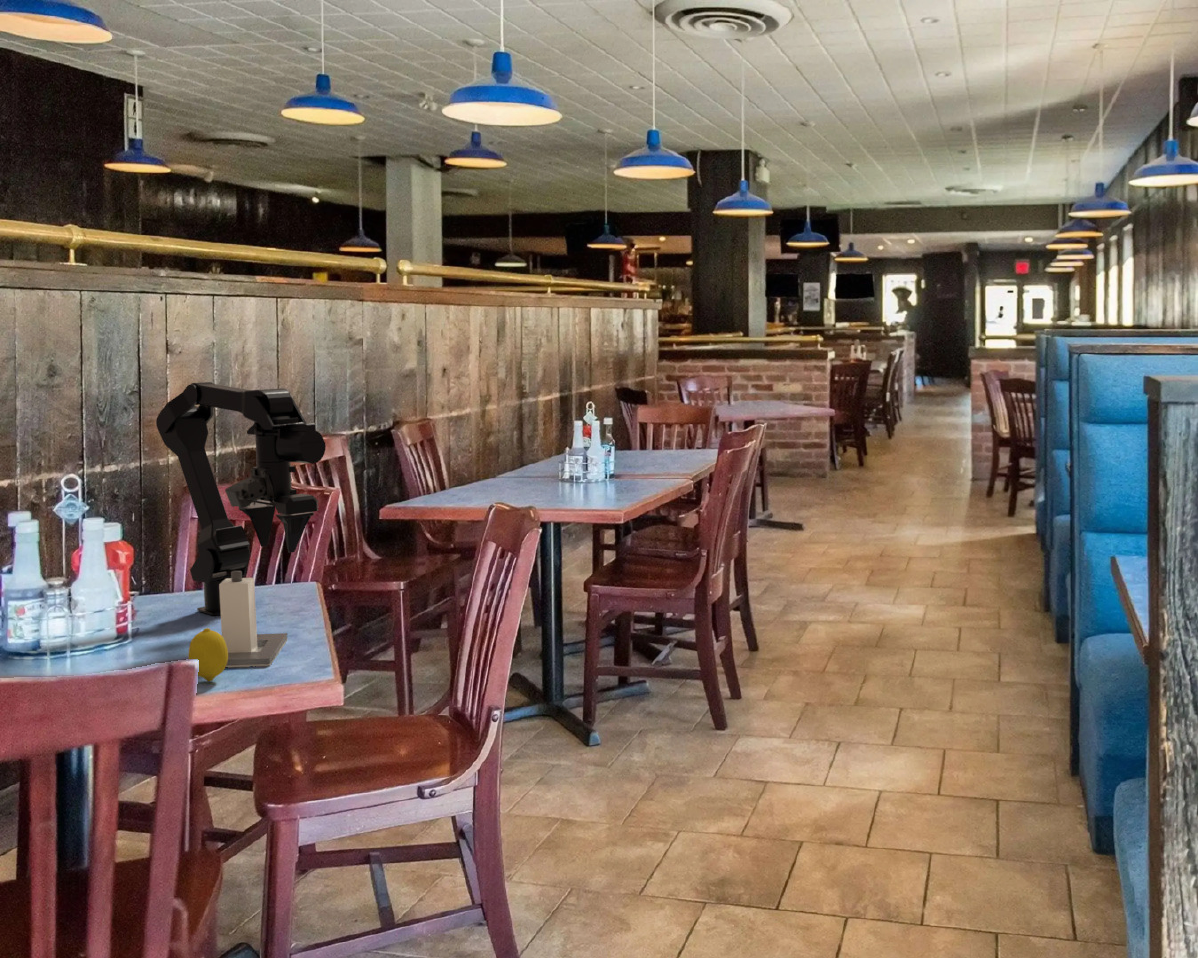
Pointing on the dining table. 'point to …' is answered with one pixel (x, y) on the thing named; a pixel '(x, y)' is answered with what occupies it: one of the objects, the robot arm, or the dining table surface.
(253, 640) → the beige carton with cap
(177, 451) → the robot arm
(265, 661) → the socket plate
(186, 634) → the dining table surface
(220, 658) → the lemon
